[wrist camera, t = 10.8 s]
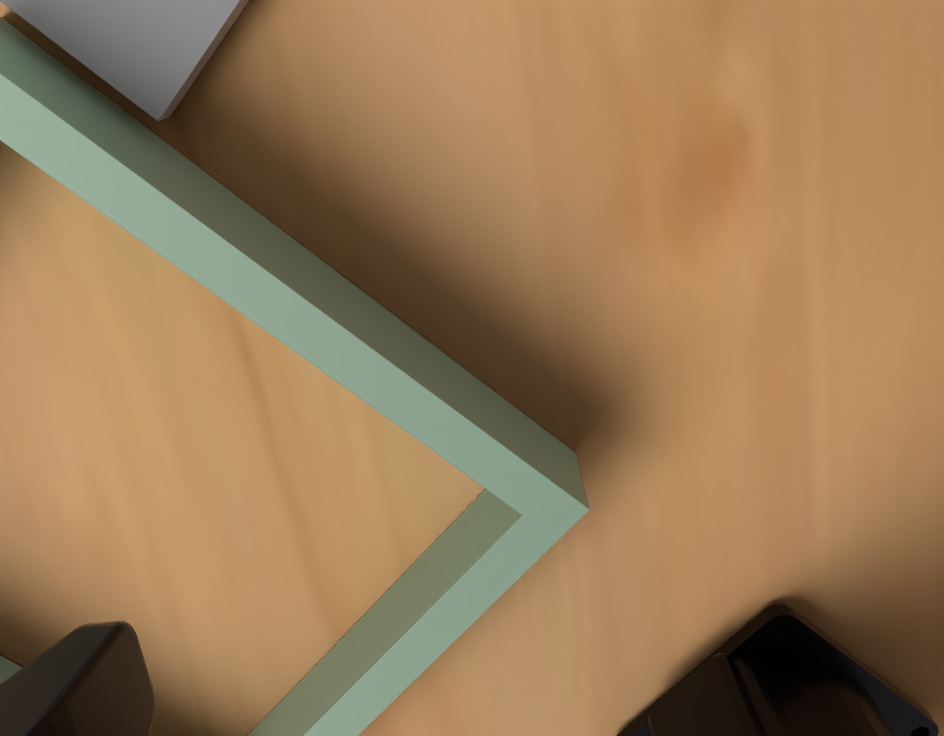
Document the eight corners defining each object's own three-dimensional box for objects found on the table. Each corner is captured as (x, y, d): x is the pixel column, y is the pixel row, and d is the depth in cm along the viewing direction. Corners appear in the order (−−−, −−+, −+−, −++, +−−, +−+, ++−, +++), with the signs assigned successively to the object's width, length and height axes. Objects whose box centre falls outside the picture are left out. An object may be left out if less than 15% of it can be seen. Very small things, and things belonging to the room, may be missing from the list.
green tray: (574, 452, 21) (589, 509, 19) (222, 808, 25) (199, 889, 23) (0, 16, 17) (-72, 20, 15) (-298, 527, 21) (-389, 592, 19)
